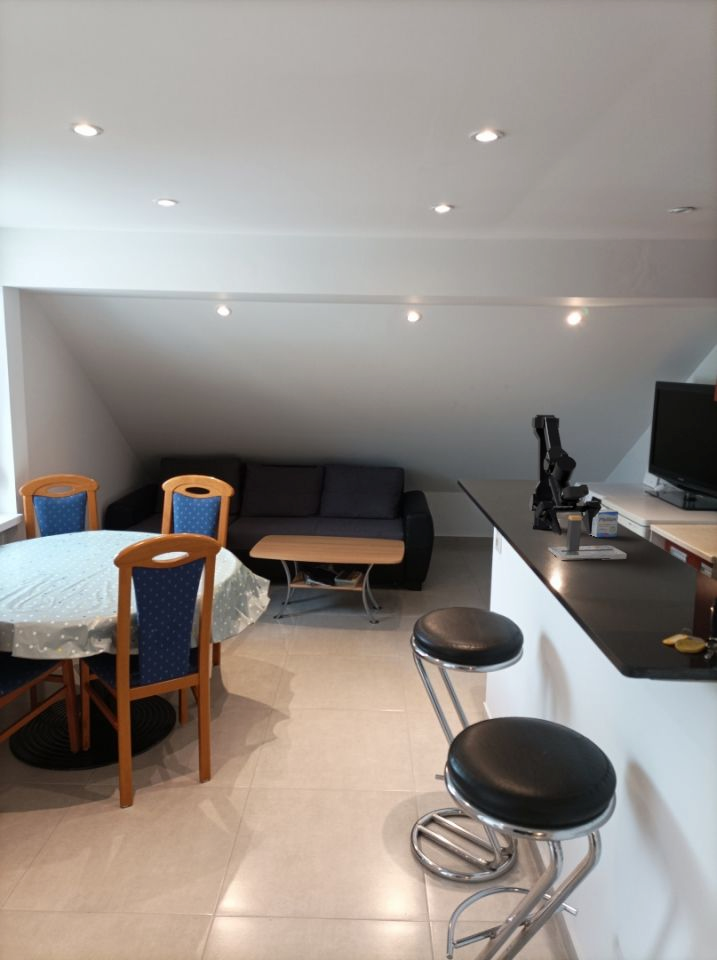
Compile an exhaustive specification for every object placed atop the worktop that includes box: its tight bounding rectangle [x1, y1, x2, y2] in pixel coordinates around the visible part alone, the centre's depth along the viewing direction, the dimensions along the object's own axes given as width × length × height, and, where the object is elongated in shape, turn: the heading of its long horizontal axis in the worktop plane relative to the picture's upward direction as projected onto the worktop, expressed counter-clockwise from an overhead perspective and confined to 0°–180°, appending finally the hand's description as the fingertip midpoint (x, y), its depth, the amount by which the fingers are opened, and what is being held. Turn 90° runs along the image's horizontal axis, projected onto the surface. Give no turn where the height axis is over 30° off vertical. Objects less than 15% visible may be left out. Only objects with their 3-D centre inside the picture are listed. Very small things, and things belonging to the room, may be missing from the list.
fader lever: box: [565, 514, 582, 551], centre depth 191 cm, size 3×2×10 cm, turn 97°
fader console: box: [548, 545, 628, 560], centre depth 193 cm, size 20×9×2 cm, turn 97°
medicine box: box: [589, 508, 619, 538], centre depth 215 cm, size 8×4×9 cm, turn 105°
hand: (575, 534), depth 190 cm, fingers open, 9 cm apart
